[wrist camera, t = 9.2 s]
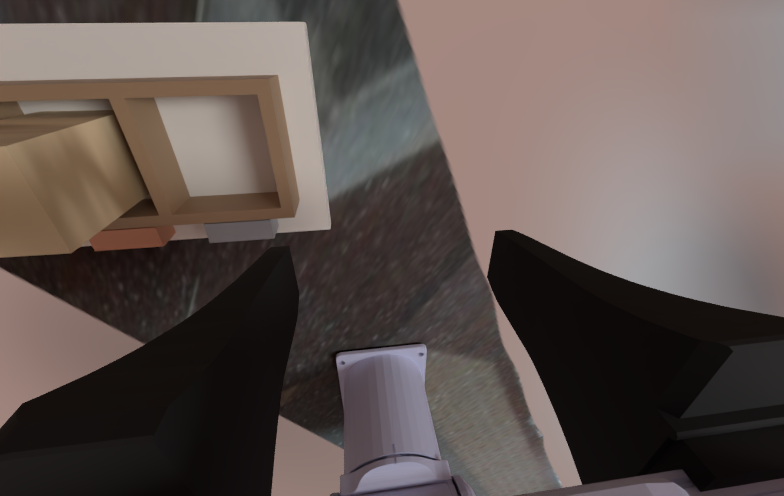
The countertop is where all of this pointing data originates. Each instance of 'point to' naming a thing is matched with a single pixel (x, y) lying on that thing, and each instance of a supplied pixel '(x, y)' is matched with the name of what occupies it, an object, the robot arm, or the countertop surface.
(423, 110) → the countertop surface
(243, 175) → the socket board
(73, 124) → the maple peg
